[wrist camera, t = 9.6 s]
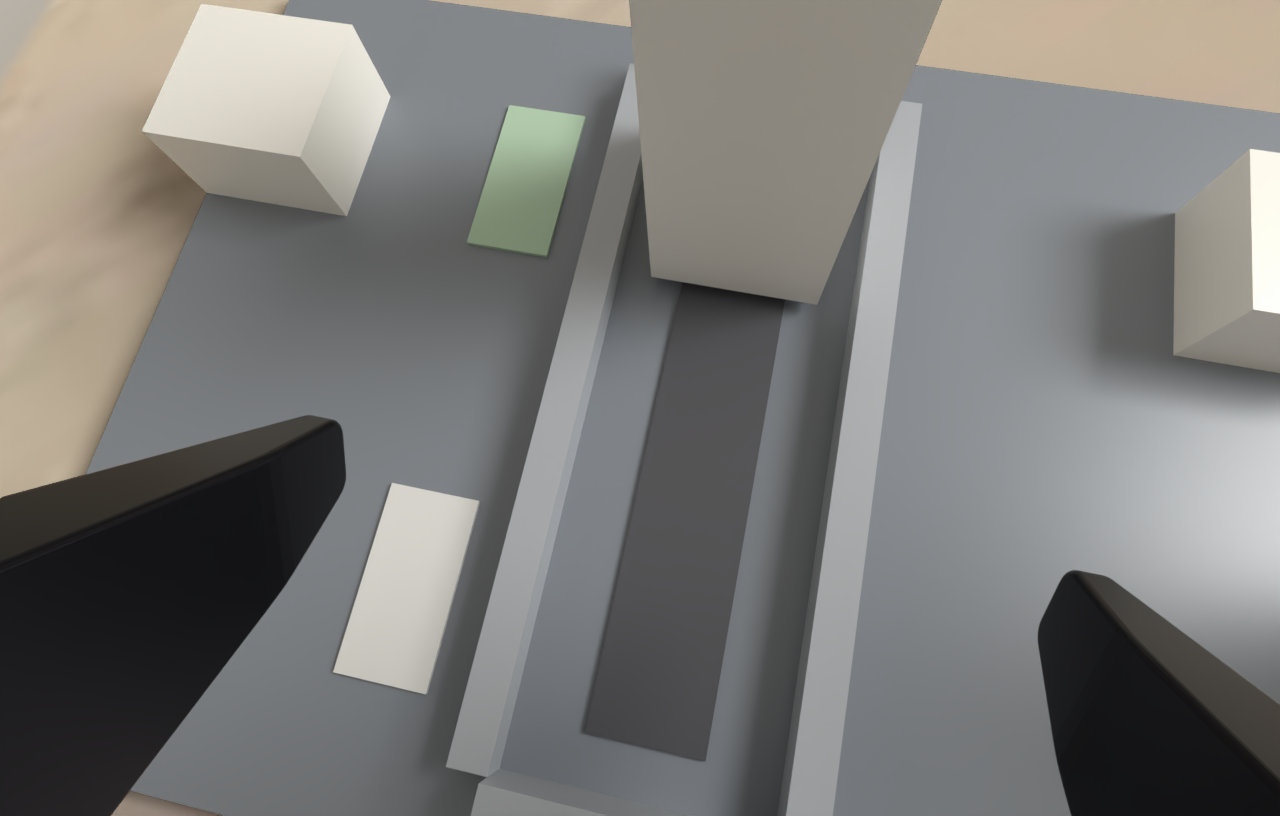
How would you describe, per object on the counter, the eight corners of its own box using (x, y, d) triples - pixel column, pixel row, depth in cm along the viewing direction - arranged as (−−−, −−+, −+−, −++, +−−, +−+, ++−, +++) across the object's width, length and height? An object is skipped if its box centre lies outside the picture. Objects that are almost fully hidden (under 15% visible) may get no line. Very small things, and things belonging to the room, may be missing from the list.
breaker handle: (819, 307, 17) (1051, -248, 6) (648, 278, 17) (599, -286, 7) (840, 167, 18) (1073, -512, 7) (679, 142, 18) (679, -532, 8)
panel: (1374, 1109, 13) (1572, 1243, 10) (-7, 743, 16) (-158, 767, 13) (1323, 138, 18) (1441, 46, 16) (306, 0, 21) (249, -99, 19)
